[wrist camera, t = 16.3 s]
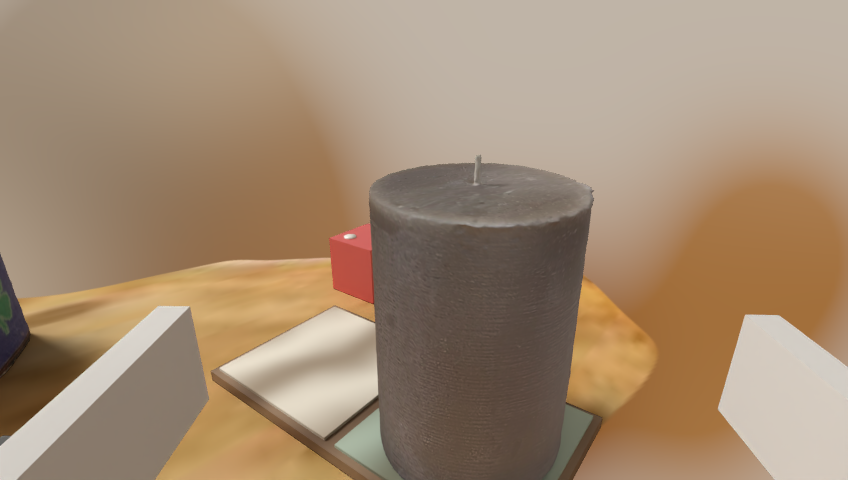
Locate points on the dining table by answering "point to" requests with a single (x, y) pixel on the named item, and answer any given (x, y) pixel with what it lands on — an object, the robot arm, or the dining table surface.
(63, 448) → the robot arm
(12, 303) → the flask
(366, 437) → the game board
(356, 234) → the red die
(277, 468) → the dining table surface
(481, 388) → the pillar candle
